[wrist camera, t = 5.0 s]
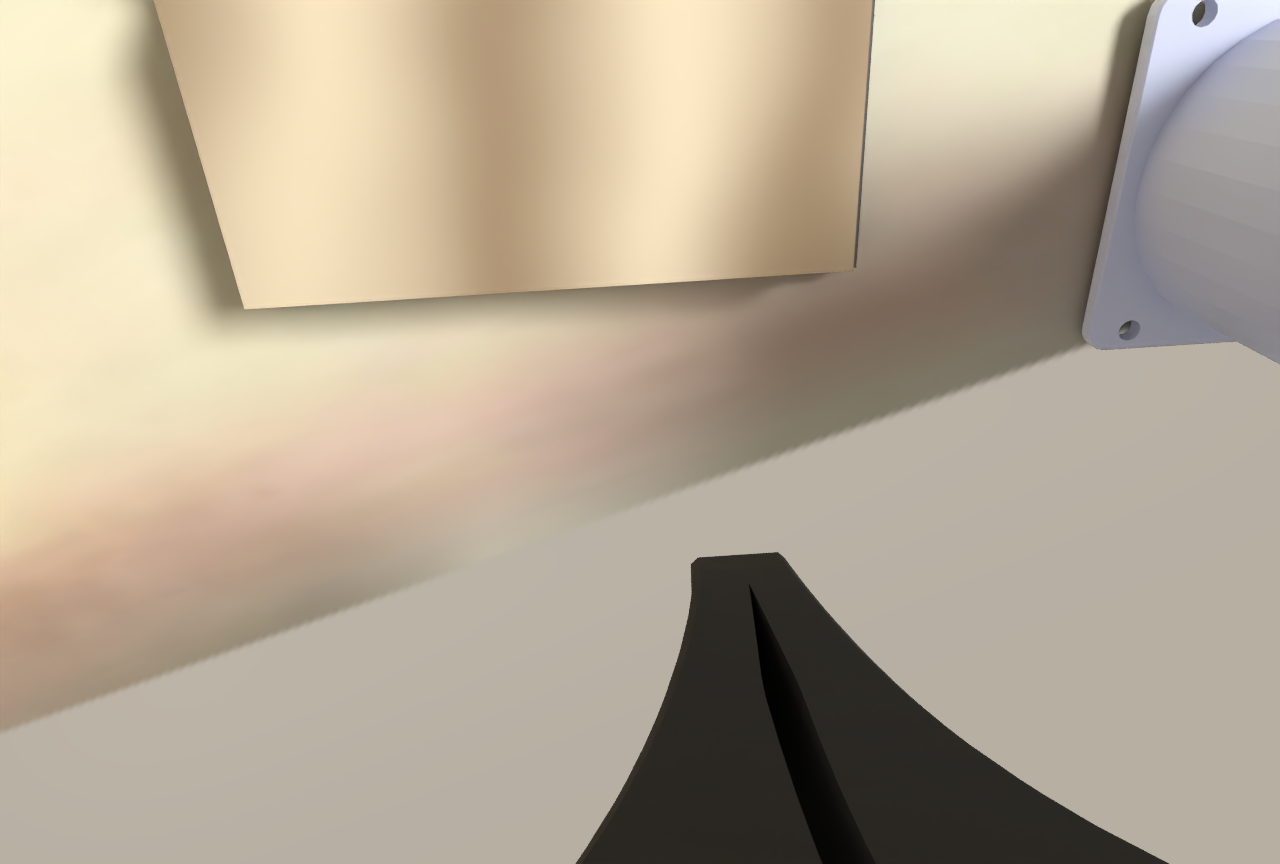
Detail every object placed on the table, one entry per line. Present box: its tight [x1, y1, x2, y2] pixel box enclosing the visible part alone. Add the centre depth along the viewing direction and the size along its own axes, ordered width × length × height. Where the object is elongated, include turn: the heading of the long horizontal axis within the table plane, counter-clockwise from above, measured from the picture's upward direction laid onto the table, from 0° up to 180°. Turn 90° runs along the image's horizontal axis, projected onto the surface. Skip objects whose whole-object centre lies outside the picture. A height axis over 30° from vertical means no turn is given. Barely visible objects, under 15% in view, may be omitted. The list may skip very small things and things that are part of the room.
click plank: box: [154, 0, 872, 309], centre depth 17 cm, size 13×7×2 cm, turn 93°
